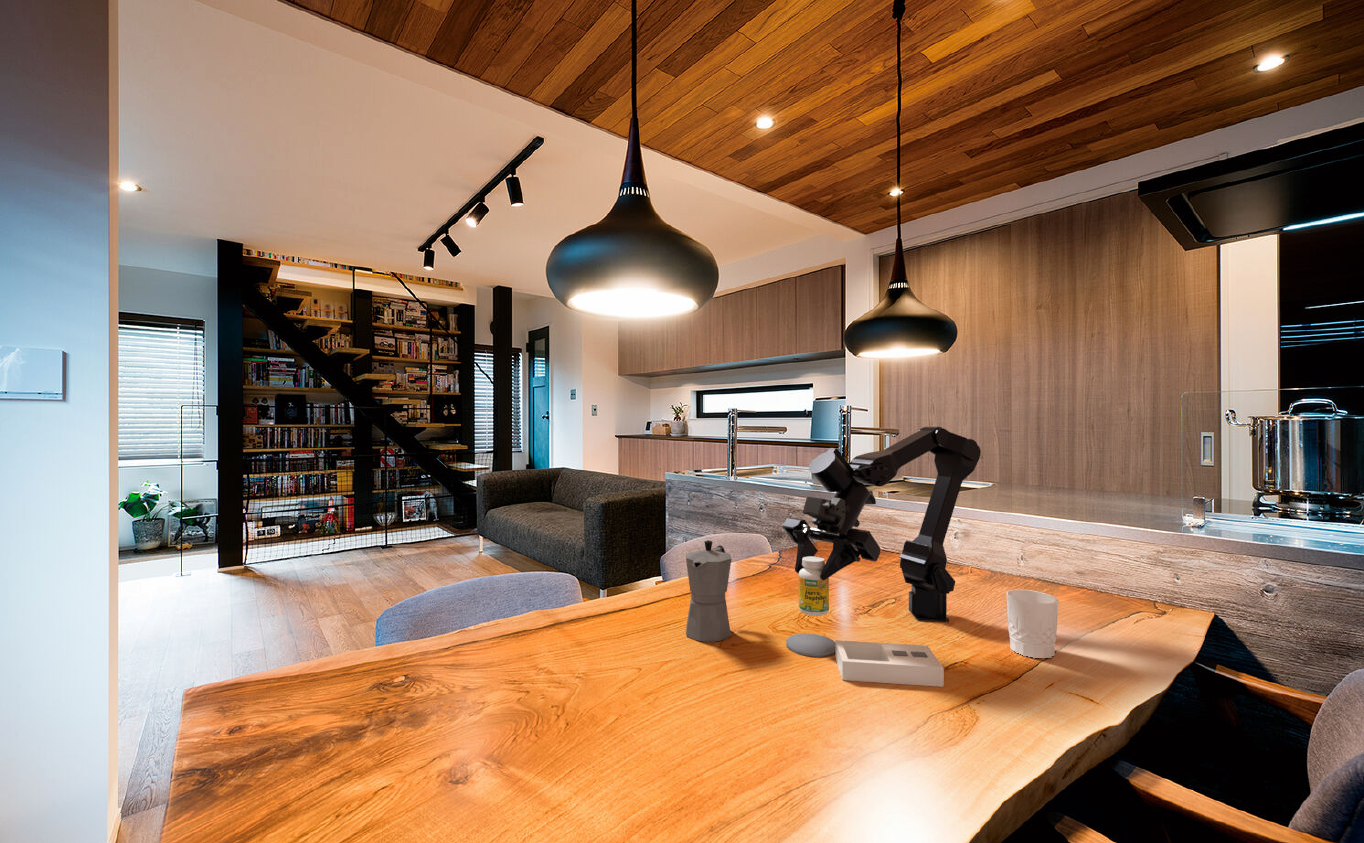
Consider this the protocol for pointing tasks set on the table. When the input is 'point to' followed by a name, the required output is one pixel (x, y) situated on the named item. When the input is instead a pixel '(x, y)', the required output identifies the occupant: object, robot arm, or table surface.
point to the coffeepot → (708, 594)
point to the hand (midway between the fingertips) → (808, 575)
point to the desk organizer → (888, 663)
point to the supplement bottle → (813, 587)
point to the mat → (811, 645)
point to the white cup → (1032, 622)
